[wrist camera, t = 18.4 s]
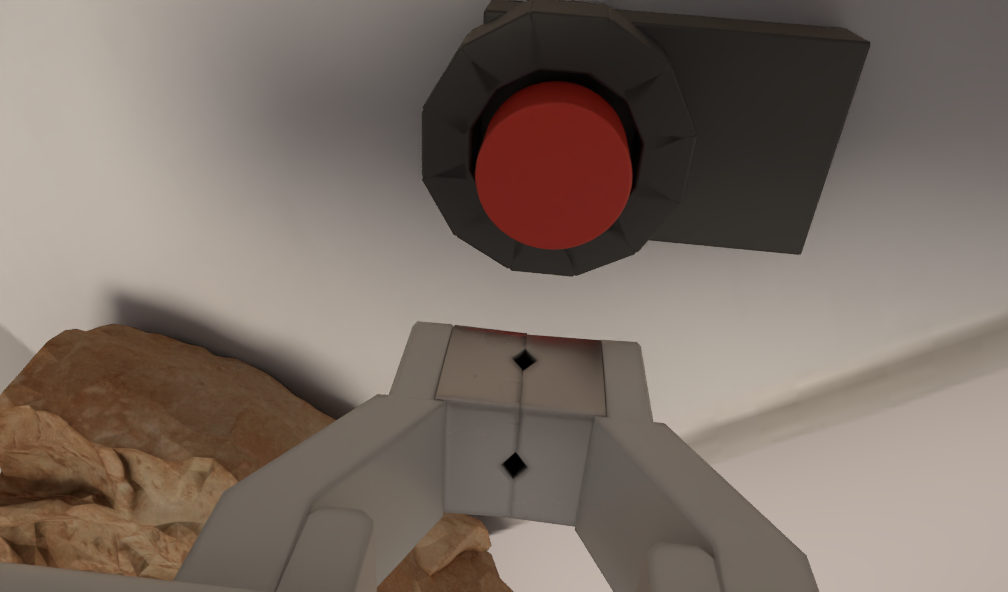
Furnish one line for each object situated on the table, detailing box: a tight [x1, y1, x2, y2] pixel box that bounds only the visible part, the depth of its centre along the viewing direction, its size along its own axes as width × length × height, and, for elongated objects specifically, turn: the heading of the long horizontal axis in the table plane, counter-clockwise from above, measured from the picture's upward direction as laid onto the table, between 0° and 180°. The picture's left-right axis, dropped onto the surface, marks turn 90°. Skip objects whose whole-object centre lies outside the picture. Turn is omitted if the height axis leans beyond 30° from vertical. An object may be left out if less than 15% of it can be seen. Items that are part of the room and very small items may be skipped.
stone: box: [0, 324, 513, 592], centre depth 25 cm, size 18×10×15 cm
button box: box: [422, 0, 870, 276], centre depth 17 cm, size 10×6×4 cm, turn 86°
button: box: [475, 81, 633, 249], centre depth 16 cm, size 3×3×2 cm
